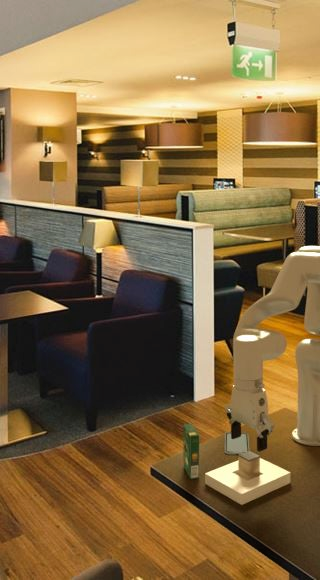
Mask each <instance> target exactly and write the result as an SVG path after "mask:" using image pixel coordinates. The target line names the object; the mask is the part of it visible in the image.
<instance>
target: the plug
mask: <svg viewBox="0 0 320 580" xmlns="http://www.w3.org/2000/svg"><path fill="white" fill-rule="evenodd" d="M260 458H261V456H260V455H259V454H256V453H255V452H252V451H251V450H249V451H247V452H245V453H242V454H239V455H238V460H237V461H238V476H240V477H242V478H244V479H245V480H247V481H248V480H250V479H253V478H255V477H257V476H260Z"/></svg>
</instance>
